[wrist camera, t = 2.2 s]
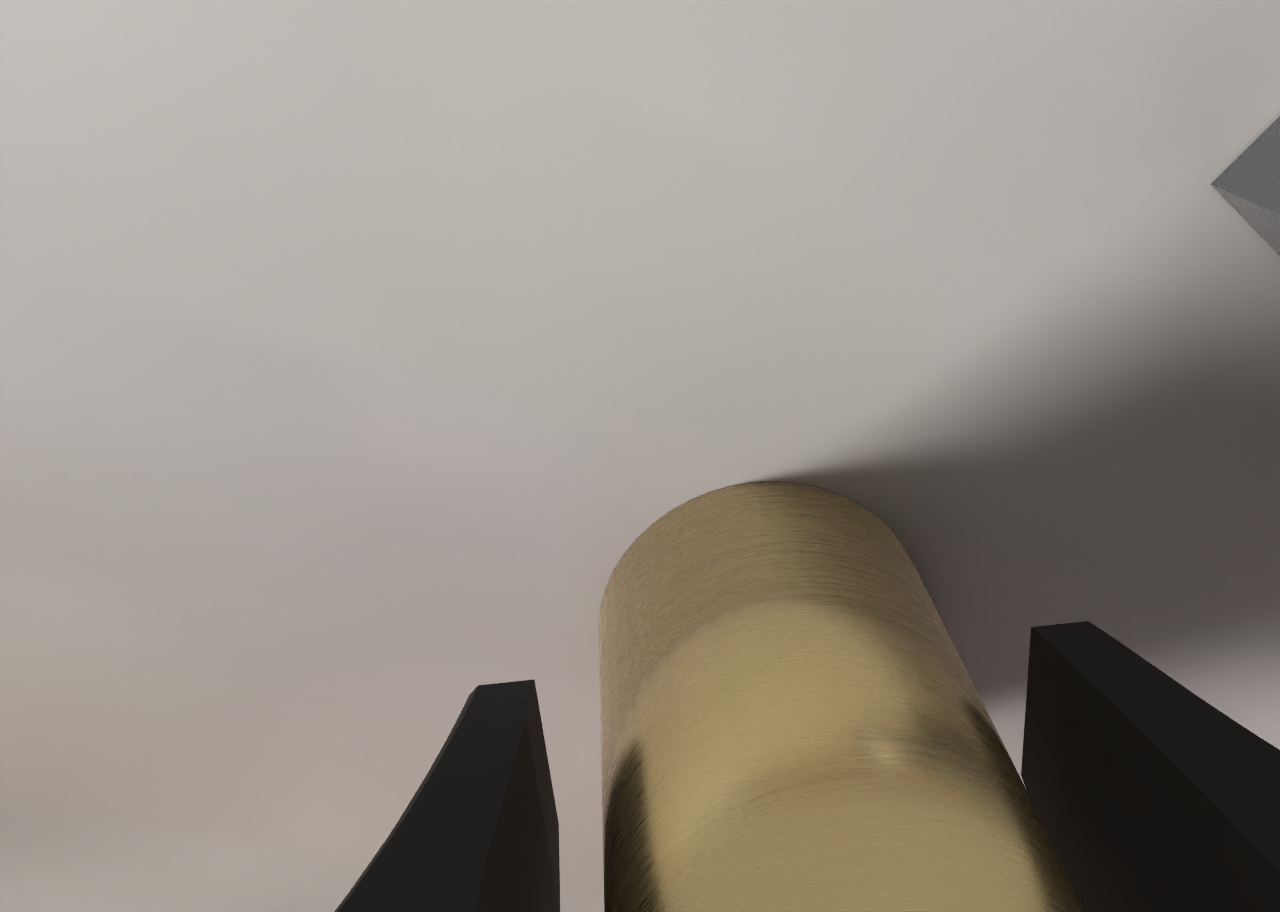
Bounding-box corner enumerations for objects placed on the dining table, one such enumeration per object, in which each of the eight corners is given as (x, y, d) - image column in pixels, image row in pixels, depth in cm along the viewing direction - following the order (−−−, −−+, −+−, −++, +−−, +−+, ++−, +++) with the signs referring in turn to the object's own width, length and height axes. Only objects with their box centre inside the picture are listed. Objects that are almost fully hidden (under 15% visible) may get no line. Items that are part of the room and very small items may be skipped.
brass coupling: (988, 602, 14) (1316, 1167, 8) (770, 799, 15) (901, 1427, 9) (748, 418, 13) (907, 915, 6) (533, 649, 14) (491, 1253, 8)
